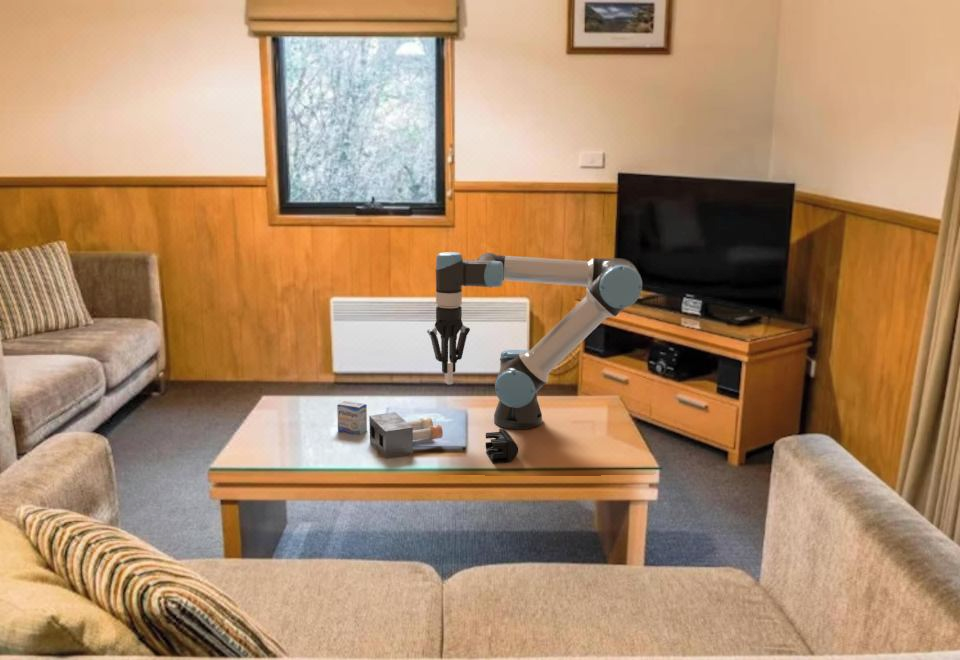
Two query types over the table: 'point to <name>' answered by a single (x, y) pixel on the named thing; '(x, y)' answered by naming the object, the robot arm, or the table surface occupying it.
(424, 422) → the knob
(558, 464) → the table surface
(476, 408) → the table surface
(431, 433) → the knob
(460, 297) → the robot arm
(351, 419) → the medicine box
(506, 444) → the end cap
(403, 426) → the grey peg holder block
